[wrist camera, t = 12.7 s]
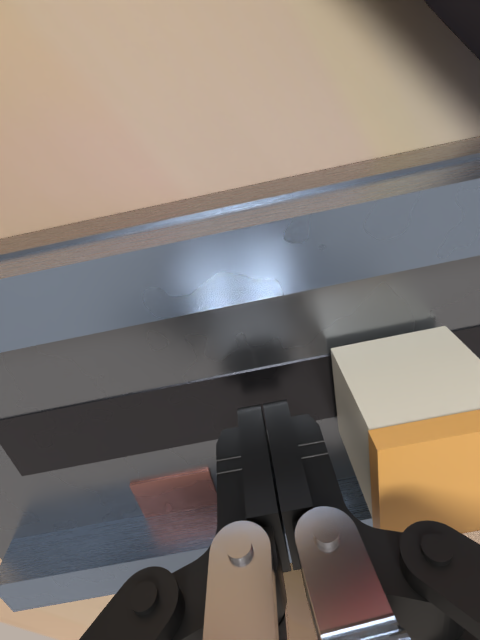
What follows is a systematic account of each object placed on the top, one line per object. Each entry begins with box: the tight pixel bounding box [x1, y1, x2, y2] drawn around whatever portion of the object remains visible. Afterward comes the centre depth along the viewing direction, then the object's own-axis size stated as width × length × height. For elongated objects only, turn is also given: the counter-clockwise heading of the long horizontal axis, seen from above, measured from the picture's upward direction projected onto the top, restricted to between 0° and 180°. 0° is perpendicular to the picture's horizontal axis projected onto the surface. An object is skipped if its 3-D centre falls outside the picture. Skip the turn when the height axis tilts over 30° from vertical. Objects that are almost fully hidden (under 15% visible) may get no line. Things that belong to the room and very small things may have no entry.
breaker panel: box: [0, 136, 480, 612], centre depth 14 cm, size 13×24×4 cm, turn 101°
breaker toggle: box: [331, 326, 480, 533], centre depth 11 cm, size 4×4×4 cm
